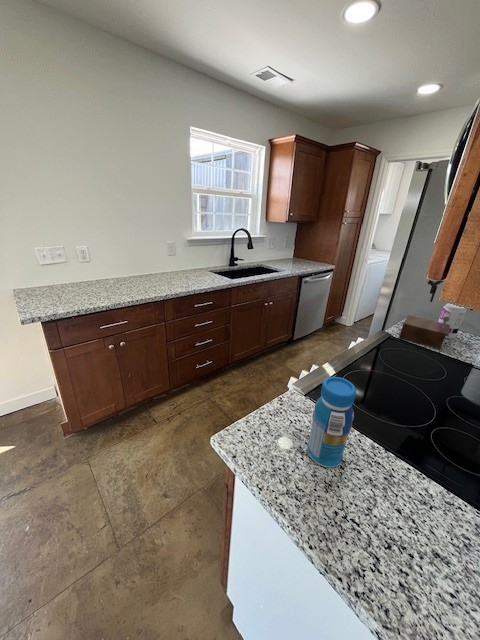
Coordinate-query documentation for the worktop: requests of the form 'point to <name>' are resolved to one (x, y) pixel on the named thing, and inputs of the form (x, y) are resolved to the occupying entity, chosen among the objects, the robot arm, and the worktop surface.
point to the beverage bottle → (331, 422)
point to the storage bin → (422, 337)
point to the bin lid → (429, 324)
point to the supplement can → (453, 318)
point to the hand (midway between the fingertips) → (450, 305)
